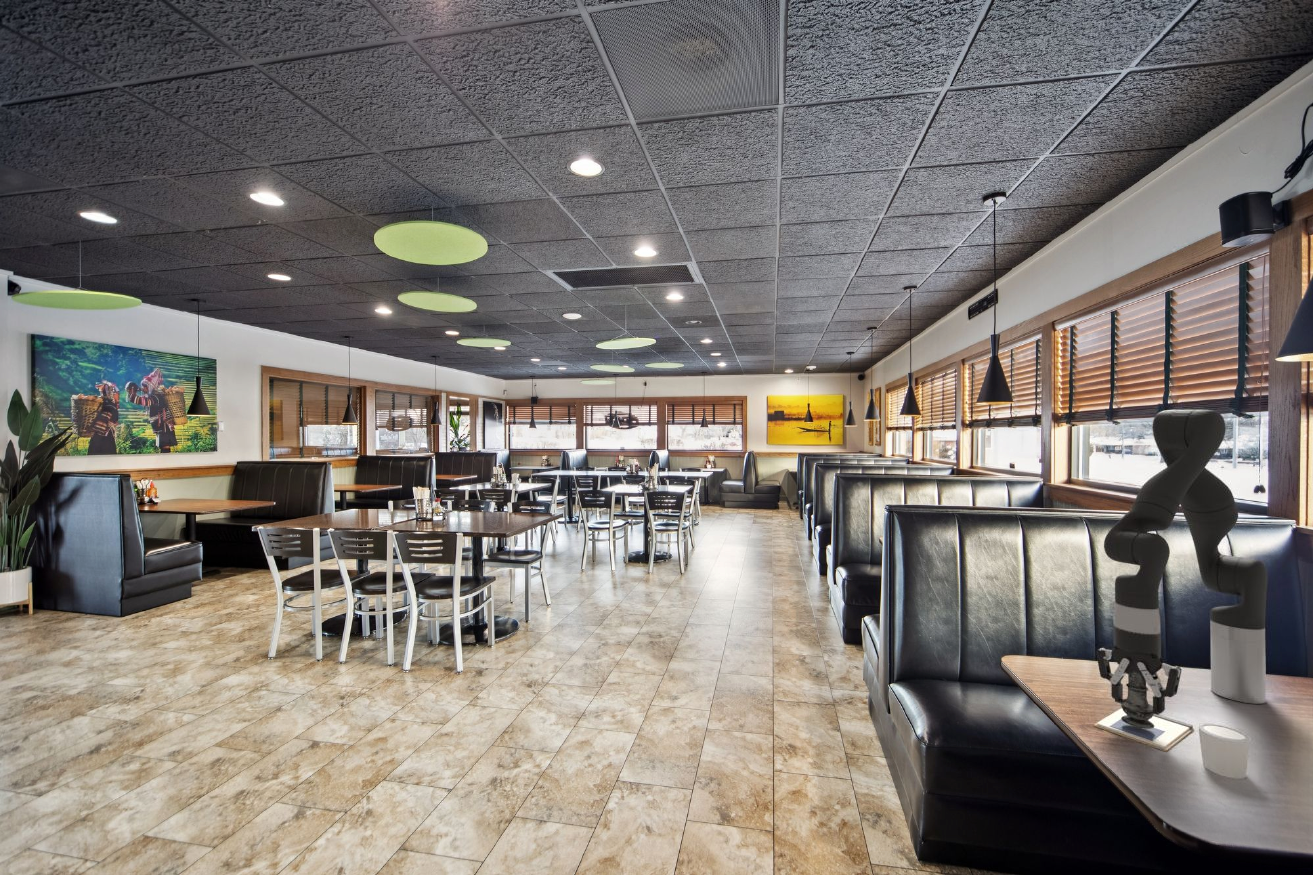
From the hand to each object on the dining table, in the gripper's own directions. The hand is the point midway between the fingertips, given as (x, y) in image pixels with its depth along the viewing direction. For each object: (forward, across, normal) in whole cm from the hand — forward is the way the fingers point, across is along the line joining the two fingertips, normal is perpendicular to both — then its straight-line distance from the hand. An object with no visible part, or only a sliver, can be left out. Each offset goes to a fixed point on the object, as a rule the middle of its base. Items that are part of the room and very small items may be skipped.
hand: (1137, 707), depth 119 cm
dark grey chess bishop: (+3, 0, 0) cm, 3 cm away
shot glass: (+5, -14, +4) cm, 15 cm away
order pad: (+5, 0, -3) cm, 6 cm away
